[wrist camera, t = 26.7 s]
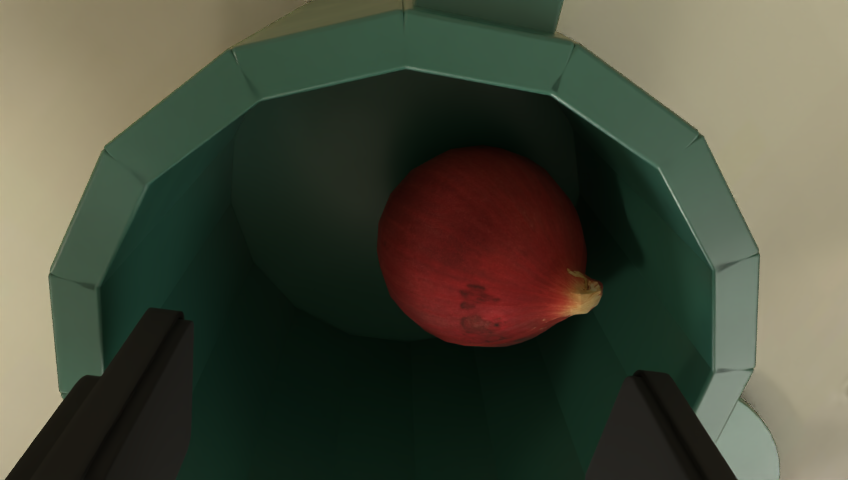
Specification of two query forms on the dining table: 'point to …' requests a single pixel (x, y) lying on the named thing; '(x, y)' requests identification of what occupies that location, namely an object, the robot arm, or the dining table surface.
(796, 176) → the dining table surface
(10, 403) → the dining table surface
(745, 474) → the lid
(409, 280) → the onion
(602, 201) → the green cooking pot
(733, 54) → the dining table surface
